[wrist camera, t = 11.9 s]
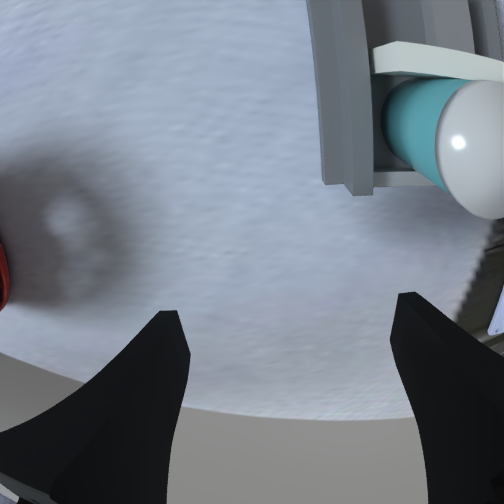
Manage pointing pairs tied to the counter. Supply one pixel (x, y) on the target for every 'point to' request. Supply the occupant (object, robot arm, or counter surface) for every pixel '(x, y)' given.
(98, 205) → the counter surface
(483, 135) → the jar
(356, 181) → the lane
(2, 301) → the plant pot
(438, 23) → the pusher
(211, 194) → the counter surface
